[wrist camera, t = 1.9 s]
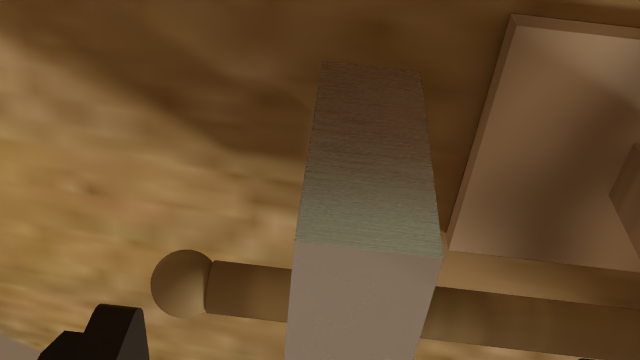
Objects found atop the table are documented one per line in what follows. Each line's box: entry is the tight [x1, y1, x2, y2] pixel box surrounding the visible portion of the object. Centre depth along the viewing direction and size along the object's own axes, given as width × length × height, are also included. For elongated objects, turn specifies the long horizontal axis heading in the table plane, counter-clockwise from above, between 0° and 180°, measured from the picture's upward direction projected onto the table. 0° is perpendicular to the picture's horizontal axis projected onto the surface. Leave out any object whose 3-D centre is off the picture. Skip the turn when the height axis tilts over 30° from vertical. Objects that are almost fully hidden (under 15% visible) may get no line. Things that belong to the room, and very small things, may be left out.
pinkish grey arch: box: [284, 61, 444, 360], centre depth 18 cm, size 3×8×8 cm, turn 175°
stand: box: [151, 14, 640, 360], centre depth 19 cm, size 19×10×11 cm, turn 85°
